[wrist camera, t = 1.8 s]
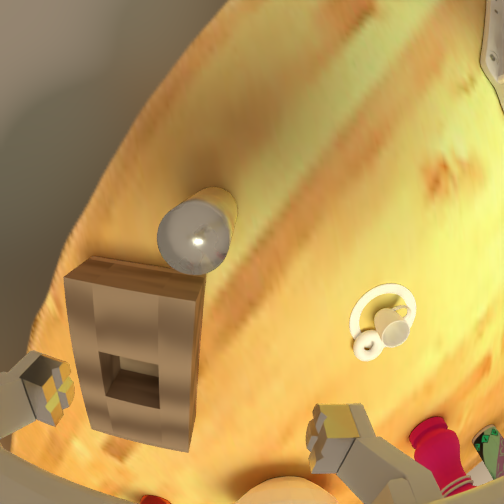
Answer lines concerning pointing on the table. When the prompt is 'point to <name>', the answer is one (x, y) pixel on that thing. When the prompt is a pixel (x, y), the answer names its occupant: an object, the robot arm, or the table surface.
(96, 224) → the table surface
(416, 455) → the pepper mill
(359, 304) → the teacup and saucer
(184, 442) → the socket block
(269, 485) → the pitcher
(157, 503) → the coffee cup
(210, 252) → the pin
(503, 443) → the spray can
